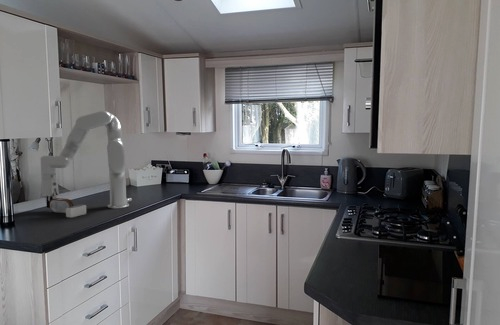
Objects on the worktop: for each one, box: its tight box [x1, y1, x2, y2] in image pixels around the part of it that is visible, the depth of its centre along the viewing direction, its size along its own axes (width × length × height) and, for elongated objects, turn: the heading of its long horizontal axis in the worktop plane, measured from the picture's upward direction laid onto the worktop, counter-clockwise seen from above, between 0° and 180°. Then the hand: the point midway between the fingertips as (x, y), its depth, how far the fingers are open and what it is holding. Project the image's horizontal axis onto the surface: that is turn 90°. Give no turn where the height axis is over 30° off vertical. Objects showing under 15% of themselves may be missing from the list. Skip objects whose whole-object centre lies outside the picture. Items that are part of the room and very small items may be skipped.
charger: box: [65, 204, 87, 218], centre depth 206 cm, size 10×4×5 cm, turn 154°
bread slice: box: [49, 197, 75, 214], centre depth 211 cm, size 15×3×8 cm, turn 75°
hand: (50, 207), depth 216 cm, fingers closed
